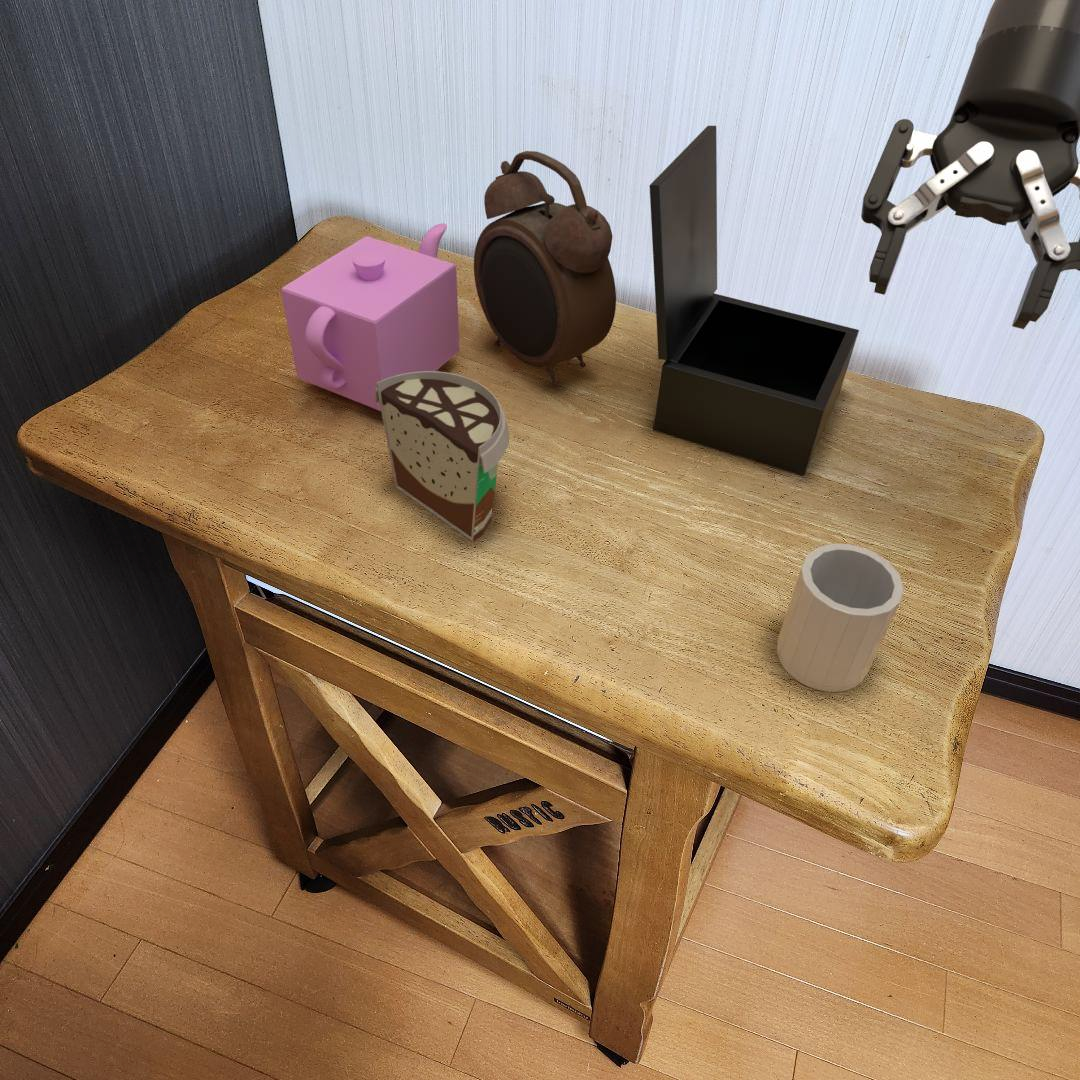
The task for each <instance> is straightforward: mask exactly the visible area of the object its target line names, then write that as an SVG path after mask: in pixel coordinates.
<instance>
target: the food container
mask: <svg viewBox="0 0 1080 1080" xmlns="http://www.w3.org/2000/svg"><path fill="white" fill-rule="evenodd" d="M375 402H376V403H377V402H380V407H381V411H380V412H381V417H382V423H383V428H384V434H385V439H386V444H387V449H388V455H389V461H390V466H391V470H392V477H393V481H394V487H395V489H397V490H398V491H400V492H401V493H403V494H404V495H405V496H407V497H408V498H410V499H411V500H413V501H414V502H415V503H417V504H418V505H419V506H421V507H422V508H424V509H425V510H427V511H428V512H429V513H431V514H432V515H434V516H435V517H436V518H438V519H439V520H441V521H442V522H443V523H445V524H446V525H447V526H449V527H451V528H452V529H453V530H455V531H456V532H457V533H459V534H460V535H462V536H463V537H465V538H466V539H468V540H469V541H470V542H472V543H475V541H477V540H478V539H479V538H481V536H483V535H484V534H485V532H486V530H487V528H488V527H489V526H490V525H491V522H492V518H493V517H492V516H493V511H494V502H495V495H496V494H495V493H496V492H495V491H496V485H497V484H496V483H497V473H498V465H499V462H500V461H501V460H502V458H503V456H504V455H505V454H506V452H507V449H508V446H509V441H510V431H509V426H508V422H507V419H506V414H505V412H504V409H503V407H502V405H501V404H500V402H499V400H498V398H497V397H496V396H495V395H494V393H493V392H492V391H491V390H490V389H488V387H486V386H484V385H483V384H481V382H479V381H476V380H474V379H472V378H469V377H466V376H464V375H460V374H456V373H452V372H446V371H439V372H437V371H420V372H411V373H404V374H400V375H396V376H393V377H390V378H387V379H384V380H382V381H379V382H377V388H375Z"/></svg>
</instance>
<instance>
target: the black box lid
mask: <svg viewBox="0 0 1080 1080" xmlns="http://www.w3.org/2000/svg"><path fill="white" fill-rule="evenodd" d="M717 144H718V143H717V125H707V126H705V128H704V129H703V130H702V131H701V132H700V133H699V134H698V135H697V136H696V137H695V138H694V139H693V140H692V141H691V142H690V143H689V144H688V145H687V146H686V147H685V148H684V149H683V150H682V151H681V152H680V153H679V154H678V155H677V156H676V158H675V159H673V160H672V162H671V163H670V164H668V166H667V167H665V169H664V170H663V171H662V172H661V173H659V174H658V176H656V178H655V179H654V180H653V181H652V182H651V183H650V184H649V204H650V220H651V221H650V222H651V241H652V243H651V244H652V259H653V260H652V261H653V262H652V263H653V279H654V281H653V282H654V297H655V318H656V335H657V336H656V337H657V338H656V339H657V355H658V360H661V361H665V360H668V358H669V357H670V355H671V354H672V352H673V351H674V350H675V348H676V347H677V345H678V344H679V342H680V341H681V340H682V338H683V337H684V335H685V334H686V332H687V331H688V330H689V328H690V327H691V325H692V324H693V323H694V321H695V320H696V318H697V317H698V315H699V314H700V313H701V311H702V310H703V308H704V307H705V305H706V304H707V303H708V301H709V300H710V298H711V297H712V295H713V294H714V293H715V292H717V290H718V189H717V188H718V184H717V183H718V179H717V178H718V177H717V176H718V175H717V174H718V172H717V170H718V166H717V165H718V164H717V163H718V162H717V157H718V155H717V150H718V149H717ZM715 294H716V293H715Z"/></svg>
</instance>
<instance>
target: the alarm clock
mask: <svg viewBox="0 0 1080 1080" xmlns="http://www.w3.org/2000/svg"><path fill="white" fill-rule="evenodd" d="M525 160H526V161H532V162H535V163H538V164H540V165H542V166H543V167H546V168H548V169H550V170H552V171H553V172H555V173H556V174H557V175H558V176H559V177H560V178H561V179H563V181H565V182H566V183H567V185H568V187H569V190H570V193H571V196H572V199H573V202H574V203H573V204H569V205H564V204H562V203H559V202H555V200H556V199H555V197H554V196H553V195H551V194H549V193H548V192H547V189H546V188H545V186H544V184H543V182H542V181H541V179H540V178H539V177H538V175H535V174H534V173H532V172H530V171H524V170H520V168H521V167H522V166H523V163H524V161H525ZM500 169H501V173H502V174H501V175H498V176H496V177H495V179H494V180H493V181H492V182H491V183H490V184H489V185H488V186H487V188H486V190H485V192H484V196H483V198H484V199H483V203H484V213H485V217H486V220H491V219H494V218H497V219H495V220H494V221H492V222H490V223H489V224H487V225H486V226H485V227H484V228H483V230H482V231H481V233H480V235H478V236H479V237H478V238H477V241H476V245H475V250H474V255H473V274H474V275H473V277H474V283H475V288H476V294H477V296H478V297H477V298H478V301H479V303H480V306H481V309H482V312H483V314H484V317H485V319H486V321H487V323H488V325H489V327H490V329H491V330H492V332H493V334H494V335H495V337H496V340H494V342H493V345H494V347H495V348H500V347H501V345H502V346H503V347H504V348H505V349H506V351H507V352H508V353H510V354H511V355H512V356H513V357H514V358H515V359H516V360H518V361H519V362H521V363H522V364H524V365H526V366H529V367H532V368H536V369H544V370H545V371H546V373H547V375H548V377H549V379H550V381H551V383H550V386H551V387H552V388H557V387H558V386H559V382H558V381H557V377H556V371H555V366H556V365H559V364H563V363H566V362H569V361H571V360H573V359H576V360H577V361H578V363H579V367H580V368H582V369H583V368H586V367H587V363H586V361H584V358H583V354H585V353H586V352H588V351H590V350H591V349H593V348H595V347H596V346H597V345H600V343H602V342H603V341H604V340H605V339H606V337H607V336H608V335H609V333H610V330H611V329H612V327H613V323H614V320H615V316H616V309H617V291H616V290H617V289H616V281H615V276H614V273H613V272H614V271H613V268H612V265H611V262H610V260H609V255H610V253H611V250H612V243H613V231H612V228H611V225H610V223H609V221H608V220H607V218H606V217H605V216H604V215H603V214H602V213H601V211H599V210H598V209H596V208H594V207H592V206H590V205H587V201H586V196H585V193H584V190H583V187H582V184H581V181H580V179H579V178H578V176H577V175H576V173H574V171H572V170H571V169H570V168H569V167H568V166H567V165H566V164H564V163H562V162H561V161H559V160H558V159H556V158H554V157H552V156H550V155H547V154H545V153H542V152H540V151H535V150H533V151H532V150H525V151H521V152H519V153H517V154H515V156H514V157H513V159H512V161H511V163H509V162H508V160H503V161H502V162H501V164H500ZM519 170H520V171H519ZM500 216H501V217H500ZM498 217H499V218H498Z"/></svg>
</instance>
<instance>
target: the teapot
mask: <svg viewBox="0 0 1080 1080" xmlns="http://www.w3.org/2000/svg"><path fill="white" fill-rule="evenodd" d="M447 229H448V224H447V223H443V222H441V223H437V224H435V225H433V226H431V227H430V228H429V229H428V230H427V232H426V233H425V234H424V236H423V239H422V240H421V242H420V246H419V248H418V251H416V250H412V249H409V248H407V247H403V246H400V245H396V244H393V243H389V242H388V241H384V240H380V239H378V238H374V237H371V236H368V235H366V236H364V237H362V238H361V239H359V240H358V241H356V242H354V243H352V244H351V245H349V246H347V247H346V248H344V249H343V250H341V251H339V252H338V253H336V254H334V255H332V256H330V257H329V258H327V259H326V260H325V261H322V262H321V263H320V264H318V265H316V266H315V267H313V268H311V269H309V270H308V271H307V272H305V273H303V274H302V275H300V276H298V277H297V278H295V279H294V280H292V281H291V282H288V284H286V285H284V286H282V288H281V289H280V293H281V299H282V303H283V310H284V314H285V319H286V326H287V331H288V336H289V342H290V346H291V347H290V348H291V352H292V356H293V362H294V368H295V374H296V378H297V379H298V380H301V381H304V382H306V383H309V384H312V385H314V386H317V387H319V388H321V389H324V390H326V391H329V392H331V393H335V394H337V395H339V396H341V397H344V398H346V399H349V400H352V401H354V402H357V403H359V404H362V405H365V406H367V407H369V408H372V409H374V410H377V411H378V412H381V407H380V402H377V403H376V402H375V388H377V382H379V381H382V380H384V379H387V378H390V377H393V376H396V375H400V374H404V373H411V372H420V371H437V372H440V370H439V369H440V368H441V367H443V366H444V365H445V364H446V363H447V362H449V361H450V360H451V359H452V358H453V357H454V356H456V355H457V354H458V353H460V328H459V327H460V326H459V304H458V303H459V301H458V275H457V265H456V264H455V263H454V262H449V261H446V260H444V259H440V258H438V252H439V246H440V242H441V240H442V238H443V236H444V234H445V232H446V230H447Z"/></svg>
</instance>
